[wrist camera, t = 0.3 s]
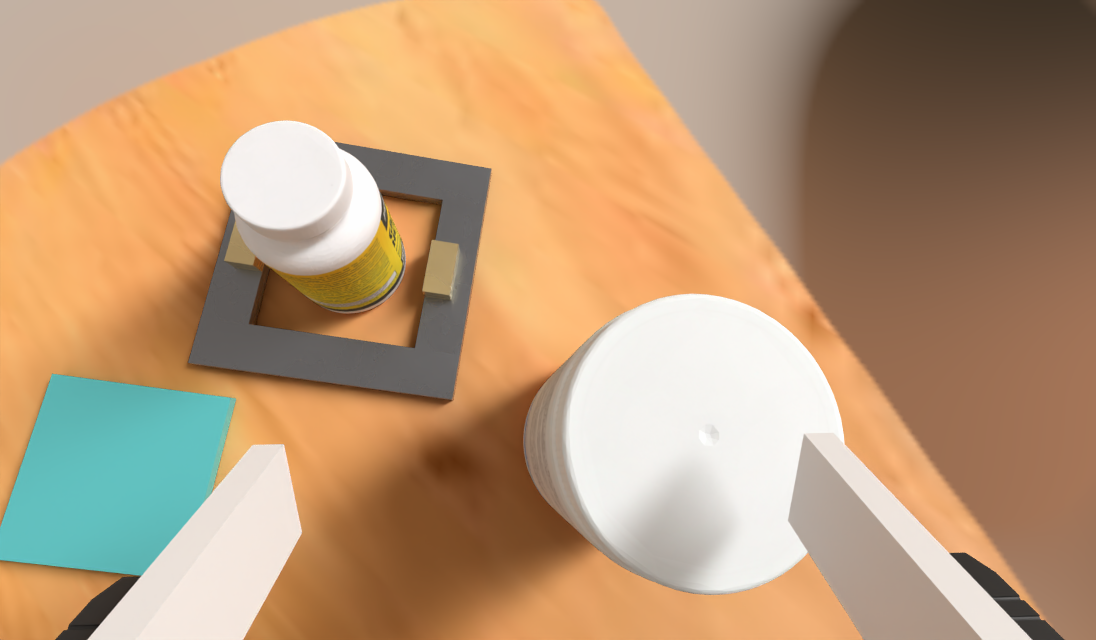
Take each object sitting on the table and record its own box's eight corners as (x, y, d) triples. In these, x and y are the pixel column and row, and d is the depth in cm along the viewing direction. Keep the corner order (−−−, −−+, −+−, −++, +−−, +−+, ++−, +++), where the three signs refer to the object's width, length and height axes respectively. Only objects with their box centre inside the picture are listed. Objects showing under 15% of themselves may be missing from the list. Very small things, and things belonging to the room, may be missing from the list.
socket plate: (453, 400, 31) (450, 397, 29) (195, 364, 29) (175, 359, 28) (491, 174, 34) (491, 158, 32) (260, 135, 33) (245, 116, 31)
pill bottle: (429, 267, 32) (399, 181, 21) (346, 337, 31) (268, 283, 20) (360, 194, 33) (296, 74, 22) (275, 259, 31) (162, 165, 20)
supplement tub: (569, 559, 29) (643, 674, 15) (493, 400, 31) (496, 368, 16) (717, 474, 31) (910, 506, 17) (640, 328, 33) (757, 243, 18)
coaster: (189, 577, 27) (183, 580, 27) (0, 556, 27) (-11, 558, 26) (236, 398, 29) (231, 397, 29) (61, 375, 29) (52, 373, 28)
